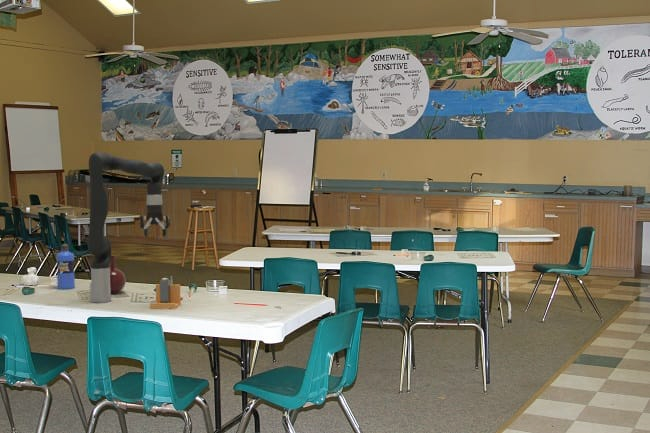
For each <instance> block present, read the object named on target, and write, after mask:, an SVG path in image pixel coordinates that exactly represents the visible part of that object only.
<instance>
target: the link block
mask: <svg viewBox="0 0 650 433" xmlns="http://www.w3.org/2000/svg"><path fill="white" fill-rule="evenodd" d="M170 280H171V279H169V278H168V277H162V278H161V280H159V285H160V303H171V300H170Z"/></svg>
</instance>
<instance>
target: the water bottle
mask: <svg viewBox="0 0 650 433" xmlns="http://www.w3.org/2000/svg"><path fill="white" fill-rule="evenodd" d="M69 250H70V247H69V244H67V243H62V244H61V248H60V252H59V253H57V254H56V255H55V256H56V257H55V258H56V264H57V273H56V274H57V275H56V276H57V290H61V291H62V290H63V291H65V290H66V291H68V290H73V289H75V288H76V287H75V286H76V284H75V283H76V282H75V269H74V265H75V264H74V262H75V254H74V253H73V252H71V251H69Z"/></svg>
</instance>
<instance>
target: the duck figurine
mask: <svg viewBox="0 0 650 433" xmlns="http://www.w3.org/2000/svg"><path fill="white" fill-rule="evenodd" d="M26 271H27V272H28V273H27V274H24V275H22V276H21V279H20V280H21V281H20V283H21V284H22V285H23V284H25V285H26V286H29V285H33V286H36V285H37V284H38V283H39V280H40V278H39V276H38V275H36V274H35V273H37V268H36V267H35V266H33V267H32V266H30V267H29V268H28V267H27V270H26ZM25 285H24V286H25Z"/></svg>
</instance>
